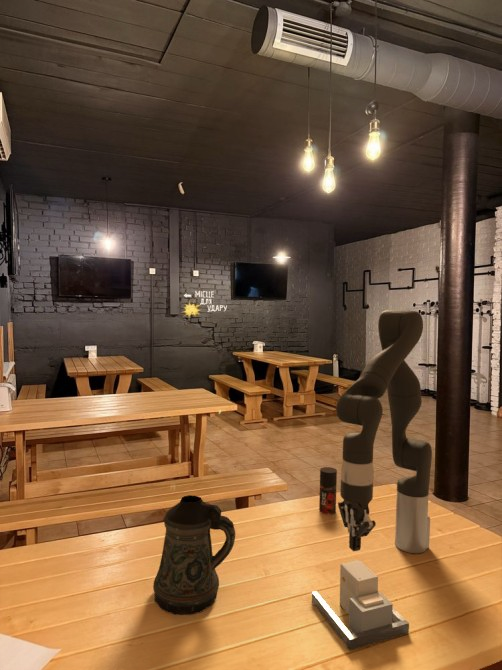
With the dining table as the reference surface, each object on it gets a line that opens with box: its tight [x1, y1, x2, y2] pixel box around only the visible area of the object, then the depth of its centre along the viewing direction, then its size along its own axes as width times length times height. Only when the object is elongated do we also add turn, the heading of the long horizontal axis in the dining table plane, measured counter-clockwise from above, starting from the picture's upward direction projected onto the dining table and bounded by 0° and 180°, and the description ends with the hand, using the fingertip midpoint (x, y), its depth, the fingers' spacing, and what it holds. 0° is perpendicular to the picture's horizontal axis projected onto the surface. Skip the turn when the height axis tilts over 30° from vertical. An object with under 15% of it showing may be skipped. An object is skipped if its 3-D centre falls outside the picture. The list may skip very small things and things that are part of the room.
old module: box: [348, 590, 394, 634], centre depth 104 cm, size 8×5×8 cm, turn 110°
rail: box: [311, 590, 410, 652], centre depth 108 cm, size 15×17×2 cm
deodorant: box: [318, 466, 338, 515], centre depth 165 cm, size 6×6×15 cm
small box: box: [339, 559, 379, 615], centre depth 110 cm, size 8×6×10 cm
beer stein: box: [152, 495, 236, 616], centre depth 116 cm, size 16×19×25 cm
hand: (354, 549), depth 109 cm, fingers closed
